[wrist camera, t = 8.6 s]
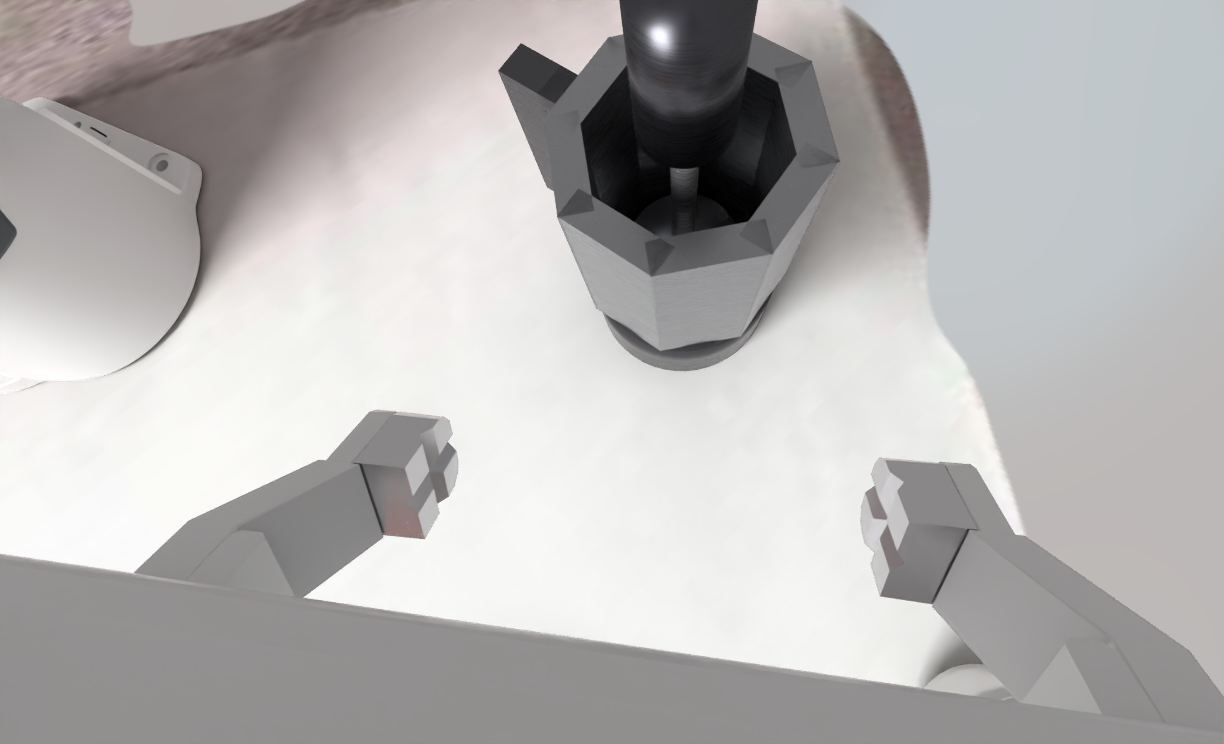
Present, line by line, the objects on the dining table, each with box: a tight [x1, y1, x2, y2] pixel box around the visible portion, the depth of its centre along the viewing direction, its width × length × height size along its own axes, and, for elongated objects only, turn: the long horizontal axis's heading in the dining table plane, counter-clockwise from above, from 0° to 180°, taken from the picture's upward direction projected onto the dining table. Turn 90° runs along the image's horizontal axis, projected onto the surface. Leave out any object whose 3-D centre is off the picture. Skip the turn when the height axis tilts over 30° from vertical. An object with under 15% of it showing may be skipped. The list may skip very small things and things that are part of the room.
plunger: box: [619, 0, 758, 238], centre depth 19 cm, size 5×5×14 cm
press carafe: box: [498, 33, 840, 371], centre depth 25 cm, size 12×9×14 cm
